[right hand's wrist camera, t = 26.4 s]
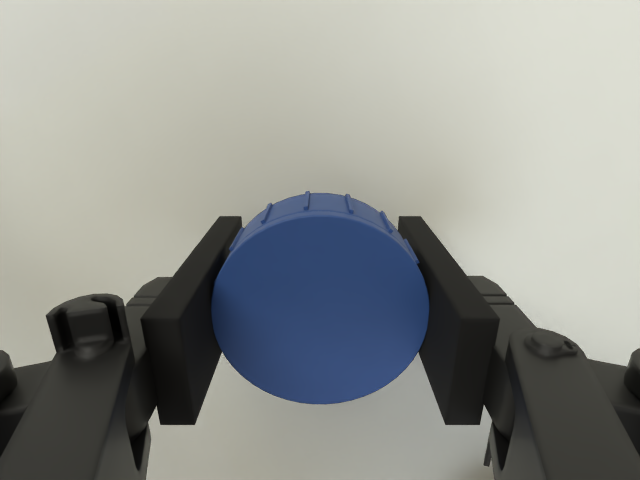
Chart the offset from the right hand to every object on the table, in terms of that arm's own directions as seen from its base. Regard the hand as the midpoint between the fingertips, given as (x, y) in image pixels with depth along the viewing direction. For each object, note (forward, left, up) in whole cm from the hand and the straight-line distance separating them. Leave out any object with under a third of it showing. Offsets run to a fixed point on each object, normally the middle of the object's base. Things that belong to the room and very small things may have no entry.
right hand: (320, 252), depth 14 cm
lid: (0, 0, +4) cm, 4 cm away
